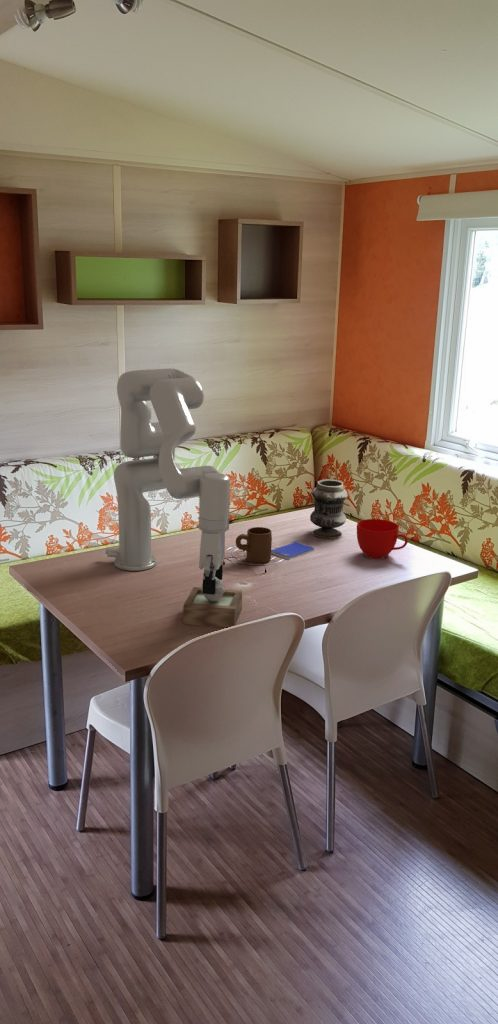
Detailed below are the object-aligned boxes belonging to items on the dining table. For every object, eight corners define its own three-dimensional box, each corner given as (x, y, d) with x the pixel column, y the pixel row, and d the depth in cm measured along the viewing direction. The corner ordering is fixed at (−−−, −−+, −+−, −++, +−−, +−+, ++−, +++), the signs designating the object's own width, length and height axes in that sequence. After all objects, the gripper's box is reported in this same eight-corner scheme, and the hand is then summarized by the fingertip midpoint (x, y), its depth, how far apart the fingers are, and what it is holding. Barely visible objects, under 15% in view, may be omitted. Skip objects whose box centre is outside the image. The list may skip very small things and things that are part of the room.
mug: (241, 568, 251) (242, 538, 249) (229, 560, 258) (229, 530, 255) (275, 561, 257) (276, 532, 255) (262, 554, 264) (263, 525, 261)
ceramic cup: (395, 568, 254) (398, 537, 251) (347, 556, 263) (349, 525, 260) (415, 557, 264) (417, 527, 261) (367, 545, 273) (369, 516, 270)
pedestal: (183, 623, 212) (183, 604, 211) (193, 605, 224) (193, 587, 222) (234, 628, 211) (234, 609, 209) (241, 609, 222) (242, 590, 221)
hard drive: (288, 556, 259) (314, 547, 267) (269, 550, 264) (294, 541, 273) (288, 561, 259) (314, 552, 268) (269, 554, 265) (294, 546, 273)
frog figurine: (197, 605, 213) (198, 579, 211) (205, 595, 220) (205, 570, 218) (221, 608, 212) (221, 582, 210) (227, 597, 219) (228, 572, 217)
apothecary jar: (334, 542, 276) (337, 489, 271) (302, 535, 282) (305, 483, 277) (351, 532, 286) (354, 481, 280) (320, 526, 292) (322, 476, 287)
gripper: (206, 511, 219) (204, 572, 224) (191, 532, 202) (191, 598, 208) (234, 513, 218) (232, 575, 223) (222, 535, 201) (221, 601, 207)
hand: (212, 586), depth 215 cm, fingers open, 9 cm apart
